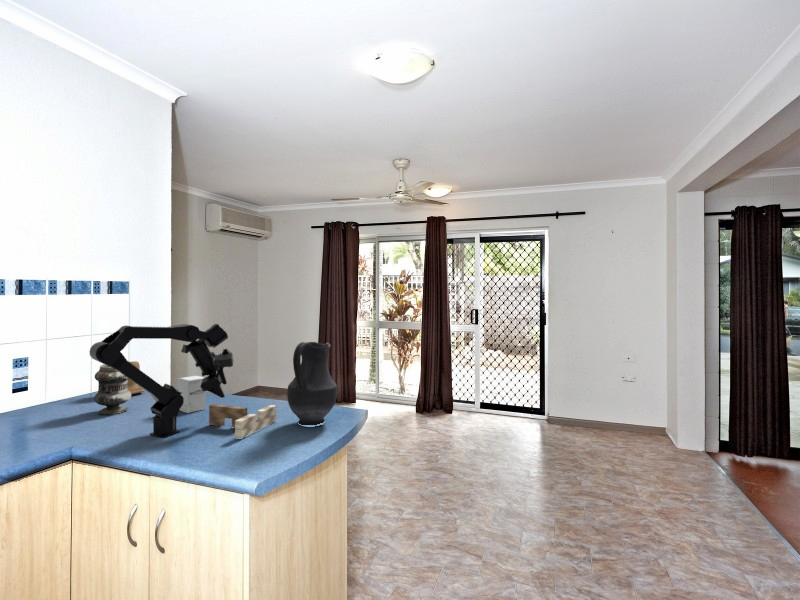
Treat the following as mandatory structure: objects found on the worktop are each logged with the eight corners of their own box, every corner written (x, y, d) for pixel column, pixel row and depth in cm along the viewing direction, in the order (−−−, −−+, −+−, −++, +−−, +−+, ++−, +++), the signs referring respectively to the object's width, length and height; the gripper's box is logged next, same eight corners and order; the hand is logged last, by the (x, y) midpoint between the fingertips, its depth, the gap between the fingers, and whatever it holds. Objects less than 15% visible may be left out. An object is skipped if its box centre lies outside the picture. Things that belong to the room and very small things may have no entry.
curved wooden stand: (134, 390, 209) (134, 357, 208) (149, 393, 202) (148, 360, 202) (98, 396, 196) (98, 362, 195) (113, 400, 189) (112, 364, 189)
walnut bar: (247, 427, 156) (247, 407, 156) (243, 429, 155) (243, 409, 154) (213, 423, 161) (213, 404, 160) (209, 425, 159) (209, 405, 158)
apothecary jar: (118, 416, 168) (118, 367, 167) (86, 415, 168) (85, 367, 167) (138, 407, 180) (137, 362, 179) (108, 407, 180) (107, 361, 179)
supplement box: (187, 413, 172) (187, 380, 172) (178, 410, 177) (177, 377, 177) (206, 409, 178) (206, 377, 178) (196, 406, 183) (196, 375, 182)
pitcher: (343, 419, 168) (344, 338, 167) (319, 437, 148) (319, 345, 147) (301, 414, 173) (302, 336, 172) (271, 431, 153) (272, 342, 152)
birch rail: (241, 440, 144) (241, 421, 144) (235, 439, 145) (235, 420, 145) (276, 422, 163) (276, 405, 163) (270, 421, 164) (270, 404, 164)
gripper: (222, 358, 150) (244, 394, 157) (226, 335, 167) (246, 368, 174) (190, 372, 149) (213, 408, 156) (197, 347, 166) (218, 381, 173)
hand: (224, 390), depth 164 cm, fingers open, 9 cm apart
